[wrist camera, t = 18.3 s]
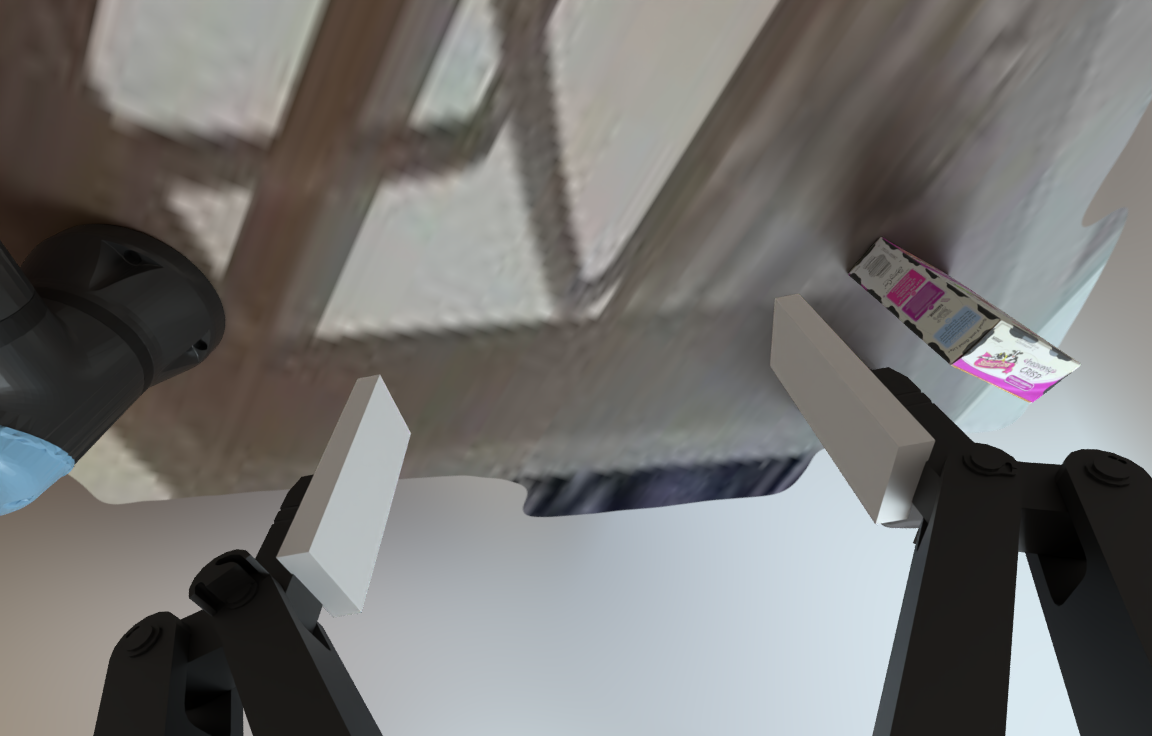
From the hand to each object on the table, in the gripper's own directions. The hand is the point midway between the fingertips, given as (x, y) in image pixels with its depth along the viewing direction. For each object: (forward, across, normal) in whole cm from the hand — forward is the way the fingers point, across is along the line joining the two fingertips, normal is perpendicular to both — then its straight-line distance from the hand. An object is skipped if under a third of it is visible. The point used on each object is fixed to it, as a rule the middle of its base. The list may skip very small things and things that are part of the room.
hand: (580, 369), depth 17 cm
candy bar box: (+33, +34, -20) cm, 51 cm away
